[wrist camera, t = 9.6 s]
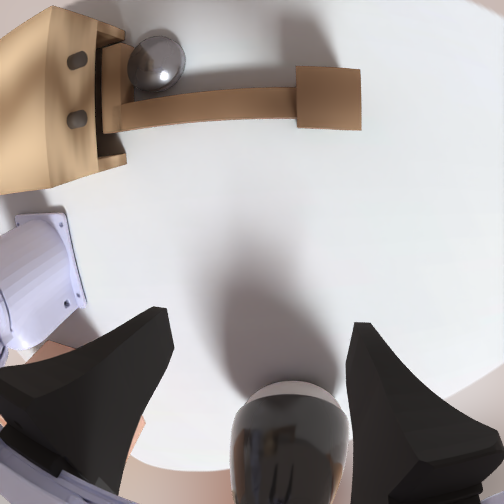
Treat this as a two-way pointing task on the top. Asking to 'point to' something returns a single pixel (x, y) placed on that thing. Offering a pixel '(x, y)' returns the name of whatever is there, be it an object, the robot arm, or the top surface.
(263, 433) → the black rounded egg shape
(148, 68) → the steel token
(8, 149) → the bread box
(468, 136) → the top surface
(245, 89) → the wooden mallet
